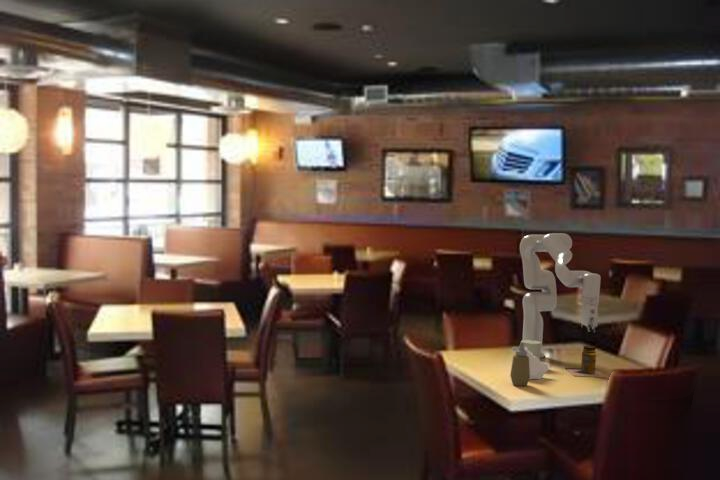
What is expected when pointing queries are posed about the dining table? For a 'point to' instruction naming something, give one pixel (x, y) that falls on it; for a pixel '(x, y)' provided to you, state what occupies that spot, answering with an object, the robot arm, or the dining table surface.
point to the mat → (585, 375)
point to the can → (533, 347)
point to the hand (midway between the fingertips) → (587, 338)
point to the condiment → (588, 361)
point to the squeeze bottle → (520, 367)
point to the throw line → (574, 368)
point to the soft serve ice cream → (535, 366)
